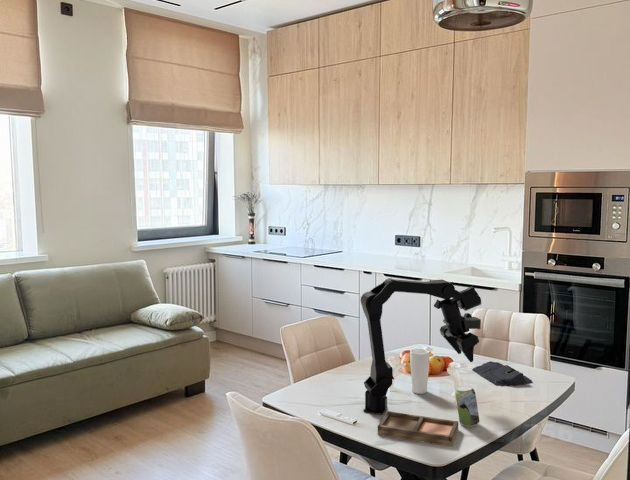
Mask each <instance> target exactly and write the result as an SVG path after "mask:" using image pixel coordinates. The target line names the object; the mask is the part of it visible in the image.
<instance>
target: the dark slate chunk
mask: <svg viewBox="0 0 630 480" xmlns="http://www.w3.org/2000/svg"><path fill="white" fill-rule="evenodd" d="M471 371H473V372H474V373H476V375H479V376H480V377H481V378H483V379H484V380H486V381H488V382H489V383H491V384H493V385H494V386H495V387H497V386H498V387H502V388H503V387H516V386H523V385H527V384H529V383H531V384H532V383H533V381H532V379H531V378H529V377H528V376H526V375H524V372H520V371H518V370H516V369H515V368H514V367H511V366H509V365H508V364H507V365H506V364H505V365H504V364H503V363H500V362H498V361H497V362H496V361H492V360H491V361H487V362H485V363H482V364H481V365H477V366H475V367H473V368H471Z"/></svg>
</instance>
